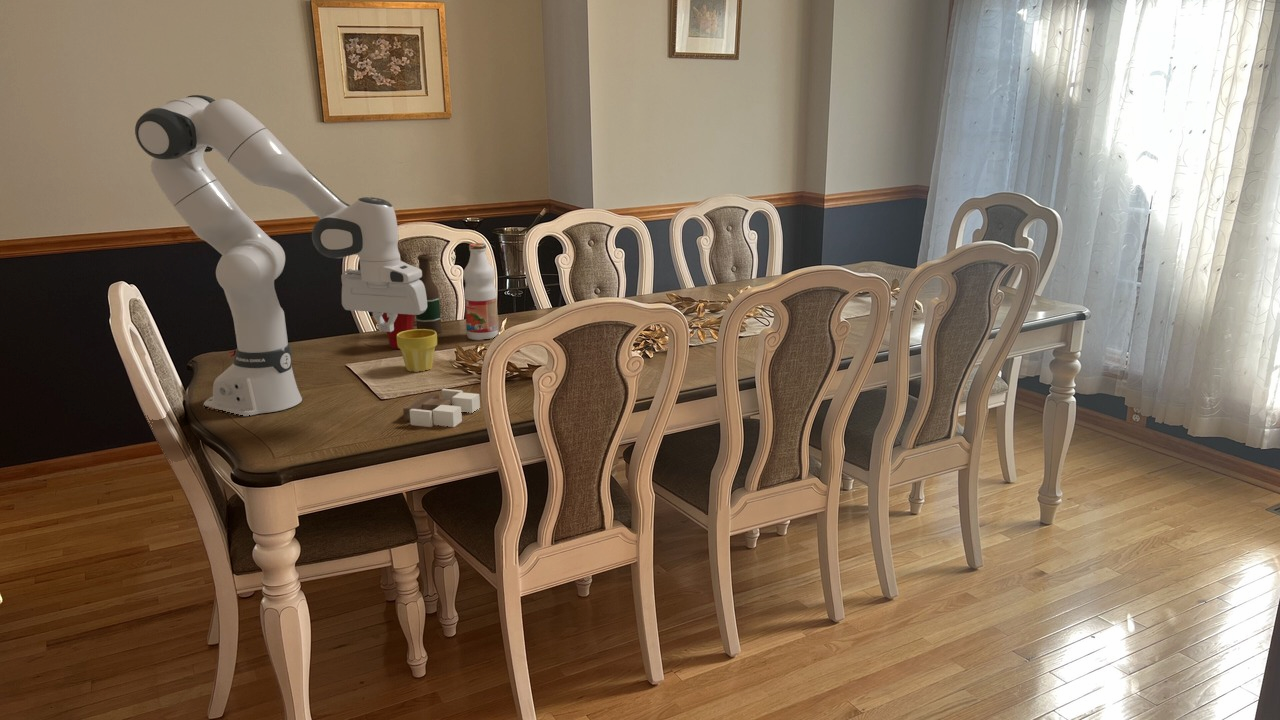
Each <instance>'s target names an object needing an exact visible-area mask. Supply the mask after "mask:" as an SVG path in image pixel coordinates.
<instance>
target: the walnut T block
mask: <svg viewBox="0 0 1280 720" xmlns="http://www.w3.org/2000/svg"><path fill="white" fill-rule="evenodd" d="M440 405H450V406H452V405H451V400H443V399H442V398H441V399H440V394H439V393H431V392H430V393H429V392H426V393H425V394H423V395H422V396H420V397H419V398H417V399H416V400H413V402H410V403H409V404H407V405H406V406H404V407H403V408H402V410H403V411H402V413H403V420H404V422H405V421H406V422H410V410H411V409H420V410H430V411H432V418H433V410H434V409H435V408H437V407H438V406H440Z"/></svg>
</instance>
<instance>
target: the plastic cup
mask: <svg viewBox="0 0 1280 720" xmlns="http://www.w3.org/2000/svg"><path fill="white" fill-rule="evenodd" d="M381 316H382V317H383V319H384V321H385V322H388V320H389V318H390V317H387V313H383V315H381ZM415 319H416V315H411V314H397V318H396V320H395V322H394V330H393V331H392V332H387V331H385V332H386V336H387V338H388V342H389V346H390V347H391V349H394V350H401V349H400V348H398V345H397V334H398V333H400V332H403V331H407V330H414V323H415Z"/></svg>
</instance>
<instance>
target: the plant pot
mask: <svg viewBox="0 0 1280 720" xmlns="http://www.w3.org/2000/svg"><path fill="white" fill-rule="evenodd" d="M397 345H398V348H400V349H399V350H400V352H401V355H402V359H403V362H404V366H405V369H406V370H407V371H408V372H411V371H414V372H413V373H420V372H419V371H423V372H426V371H425V370H428V369H430V370H432V368H433V362H434V355H435V348H436V346H438V334H437V333H436V331H433V330H428V329H417V328H415V329H414V328H413V330H407V331H403V332H400V333H398V334H397ZM428 371H429V370H428Z"/></svg>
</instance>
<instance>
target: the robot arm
mask: <svg viewBox="0 0 1280 720" xmlns="http://www.w3.org/2000/svg"><path fill="white" fill-rule="evenodd" d="M134 127H135V128H134V135H135V137H136V138H135V139H136V141H137V143H138V145H139V146H140V148H141V149H142V150H143V151H144V152H145V153H146V154H147V155H149V156H150V157H152V158H153V159H152V160H151V163H150V170H151V173H152V175H153V177H154V179H155V181H156V182H157V184H158V186H159V187H160V190H161V191H162V193H163V194H164V196H165V197H166V198H167V200H168V201H169V202H170V204H171V205H172V206H173V207H174V209H175V211H176V212H177V213H178V214H179V215H180V216H181V218H182V219H183V220H184V222H185V223H186V224H187V226H189V228H190V229H191V231H193V233H194V234H195V235H196V236H197V237H198V238H199V239H201V240H203V241H204V242H206V243H207V244H209V245H210V246H211V247H212V248H213V249H215V250H216V251H217V252H218V253H219V254H221V257H220V258H219V260H218V262H217V266H216V268H215V276H216V277H215V278H216V281H217V282H218V284H219V285H220V287H221V288H222V289H223V291H224V295H225V298H226V302H227V303H228V306H229V309H230V311H231V316H232V319H233V325H234V326H233V327H234V331H235V332H234V333H235V338H236V345H237V348H235V349H234V350H231V351H230V352H228V354H229V355H228V358H231V357H233V361H232V364H231V365H229V367H227V368H226V369H225V370H224V371H223V372H222V373H221V374H219V375H218V376H217V377H216V378H215V379H214V382H213V385H212V396H210V397H209V398H207V399H206V400H205V401H204V402H203V406H204V405H205V406H209V407H212V408H215V409H219V410H223V411H226V412H225V413H227V412H230V413H229V414H231V413H234V414H233V415H236V414H239V415H238V416H240V415H243V416H242V417H250V416H255V415H258V414H260V415H261V414H265V413H273V412H274V413H275V412H279V411H284V410H287V409H290V408H293V407H296V406H297V405H299V404H300V403H301V402H302V400H303V397H302V395H301V394H300V391H299V387H298V385H297V382H296V379H295V375H294V374H295V373H294V371H293V366H292V364H293V363H292V361H293V360H292V359H293V356H292V349H291V344H290V343H289V342H288V333H287V326H286V317H285V311H284V310H283V307H281V305H280V301H279V299H278V296H277V292H276V289H275V280H276V279H278V277H280V275H281V274H282V273H283V270H284V267H285V264H286V253H285V251H284V249H283V247H282V246H281V244H280V243H278V242H277V241H276V240H274V239H273V238H271V237H270V236H269V235H268V234H267V233H266V232H265V231H263V229H262V228H261V227H260V226H259V225H257V223H256V222H254V221H253V220H252V219H251V218H249V216H248V214H246V213H245V212H244V211H243V210H242V209H241V207H239V205H238V204H237V203H236V201H235V200H234V199H233V198H232V197H231V195H230V194H229V193H228V191H227V190H226V189H225V187H224V186H223V185H222V183H221V182H220V181H219V180H218V178H217V177H216V176H215V175H214V173H213V172H212V171H211V170H210V168H209V167H208V165H207V163H206V161H205V159H204V155H205V153H209V152H211V151H213V150H215V151H216V153H218V154H219V155H220V156H221V157H222V158H223V159H224V160H225V161H226V163H228V164H229V165H230V166H231V167H232V168H233V169H234V170H235V171H236V172H237V173H239V174H240V175H241V176H242V177H244V178H245V179H247V180H248V181H250V182H251V183H253V184H255V185H257V186H263V187H267V188H273V189H276V190H277V189H278V190H280V191H283V192H287V193H288V194H291V195H292V196H294V197H295V198H296V199H298V200H299V201H300V202H301V203H302V204H303V205H304V206H305V207H307V208H308V209H309V210H310V211H311V212H312V213H313V214H315V216H316V217H317V218H319V220H318V221H316V223H315V224H314V225H313V228H312V231H311V240H312V243H313V247H315V249H316V250H317V252H319V254H321V255H322V256H324V257H327V258H329V259H343V258H345V257H350V256H353V255H356V256H358V259H359V269H352V268H349V269H346V270H345V271H343V272H342V274H341V277H340V278H341V284H342V286H341V305H342V307H343V309H344V310H345V311H356V312H369V313H372V317H373V319H374V320H375V322H376V323H377V325H378V331H379V332H386V331H387V332H392V331H393V330H394V322H395V320H396V318H397V314H411V315H415V316H416V315H419V314H421V313H423V312H425V311H426V309H427V297H426V290H425V286H424V284H423V282H422V281H421V280H419V278H421V277H422V271H421V269H419V267H416V266H414V265H411V264H408V263H407V262H404V261H403V260H401V254H400V251H399V247H398V245H399V244H398V243H399V229H398V228H399V227H398V221H397V215H396V211H395V208H394V206H393V205H392V203H391V202H389V201H388V200H385V199H382V198H379V197H378V198H377V197H372V196H371V197H369V196H366V197H364V196H363V197H359V198H358V199H357V200H356V201H355V202H353V203H352V204H349V203H346V202H345V201H343V200H342V199H340V197H338V196H337V195H336V194H335V193H334V192H333V191H332V190H331V189H330V188H329V187H328V186H326V185H325V184H324V183H323V182H322V181H321V180H319V178H318V177H317V176H315V175H314V174H313V173H312V172H311V171H309V170H308V169H307V168H306V167H305V166H304V165H303V164H302V163H301V162H300V161H299V160H298V158H296V157H295V156H294V155H293V154H292V153H291V152H290V151H289V150H288V149H287V147H285V145H284V144H283V143H282V142H281V141H280V140H279V139H278V138H277V137H276V136H275V134H273V133H272V132H271V130H269V129H268V127H266V126H265V125H264V124H263V122H261V121H260V120H259V119H258V118H257V117H256V116H254V115H253V114H252V113H250V112H249V111H248V110H246V109H245V108H244V107H243V106H242V105H240V104H238V103H237V102H235V101H234V100H231V99H229V98H220V99H217V100H215V98H213V97H210V96H207V95H200V94H192V95H188V96H186V97H181V98H177V99H171V100H170V101H167V102H166V103H164V104H161V105H160V106H158V107H155V108H151V109H149V110H147V111H146V112H144V113H143V114H142V115H141V116H139V118H138V119H137V121H136V123H135V126H134ZM383 313H387V317H390V318H389V320H388V322H385V321H384V319H383V317H382V315H383ZM387 332H386V333H387ZM249 415H250V416H249Z"/></svg>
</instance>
